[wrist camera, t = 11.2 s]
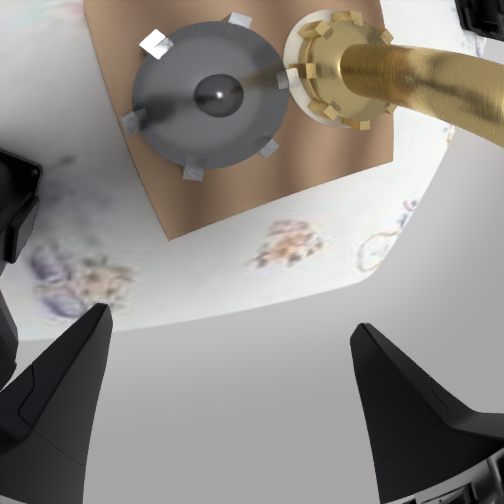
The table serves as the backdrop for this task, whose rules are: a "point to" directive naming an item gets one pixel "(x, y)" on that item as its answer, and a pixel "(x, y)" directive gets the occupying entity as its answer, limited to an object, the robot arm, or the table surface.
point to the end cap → (482, 17)
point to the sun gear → (210, 95)
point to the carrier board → (287, 137)
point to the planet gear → (395, 78)
